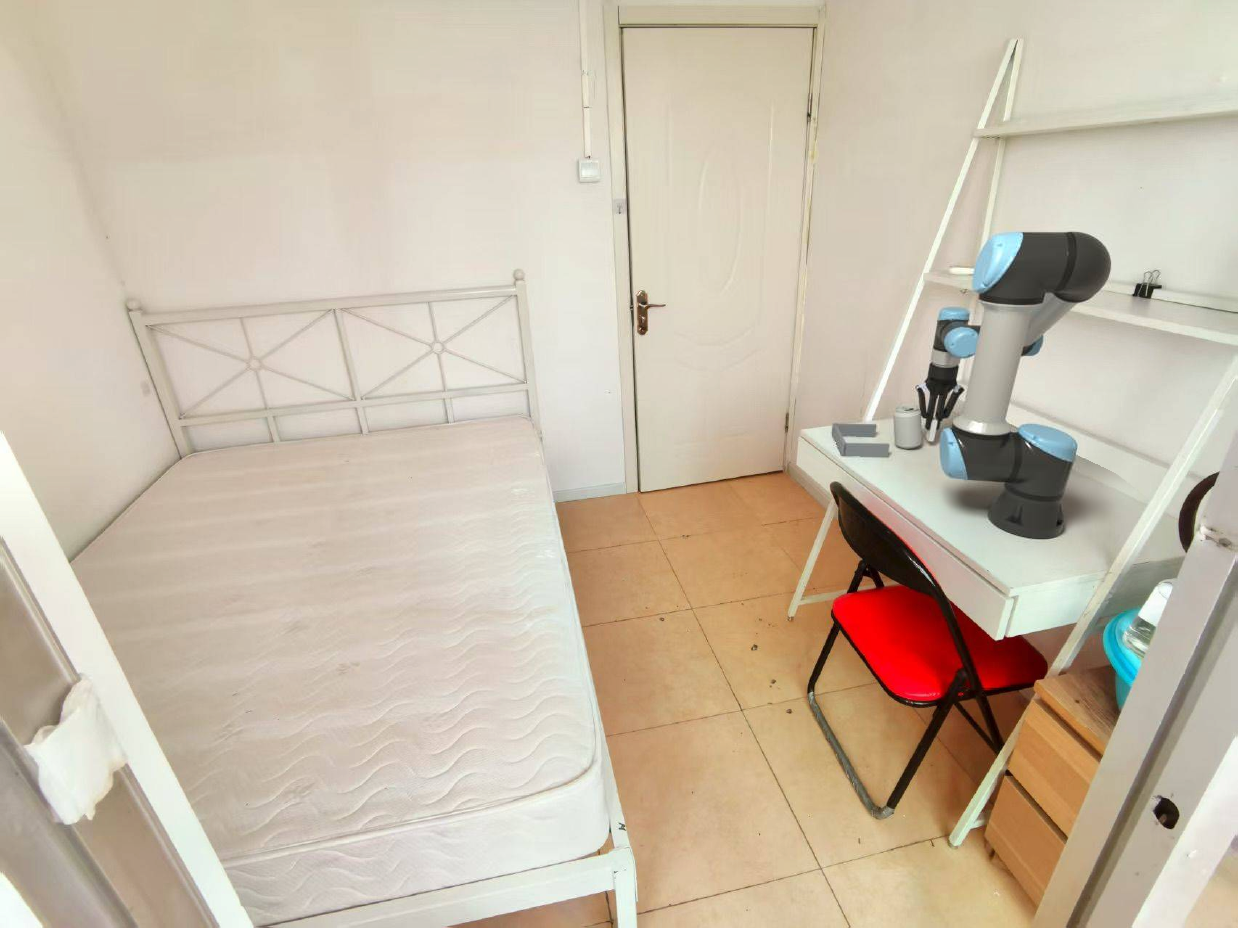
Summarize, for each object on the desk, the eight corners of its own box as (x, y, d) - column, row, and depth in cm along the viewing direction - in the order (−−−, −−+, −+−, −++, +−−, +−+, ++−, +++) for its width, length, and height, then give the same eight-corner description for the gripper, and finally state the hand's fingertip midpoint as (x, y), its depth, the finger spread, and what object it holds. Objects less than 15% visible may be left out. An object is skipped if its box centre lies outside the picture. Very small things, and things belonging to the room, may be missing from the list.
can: (908, 451, 184) (906, 413, 180) (889, 445, 191) (887, 408, 186) (928, 443, 186) (926, 405, 182) (908, 438, 193) (906, 401, 189)
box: (887, 457, 182) (889, 444, 181) (841, 456, 184) (842, 444, 182) (874, 435, 197) (875, 424, 195) (831, 435, 198) (832, 423, 197)
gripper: (964, 359, 180) (948, 434, 190) (916, 359, 181) (903, 433, 192) (973, 367, 173) (957, 445, 184) (924, 367, 175) (910, 444, 185)
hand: (929, 439), depth 188 cm, fingers closed
